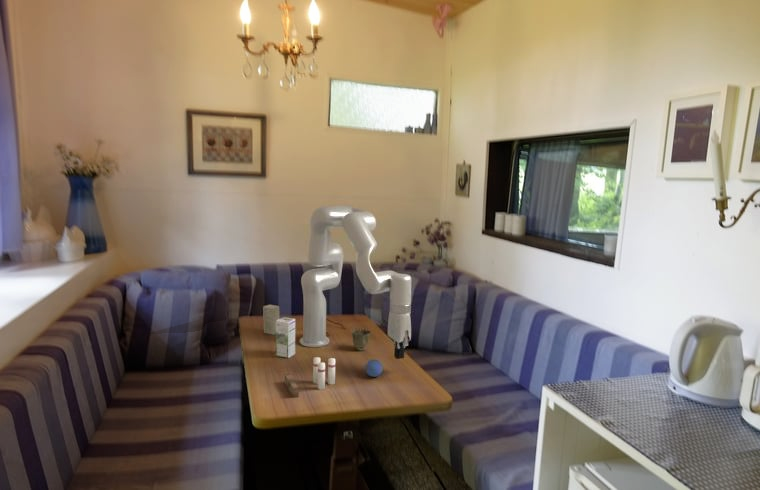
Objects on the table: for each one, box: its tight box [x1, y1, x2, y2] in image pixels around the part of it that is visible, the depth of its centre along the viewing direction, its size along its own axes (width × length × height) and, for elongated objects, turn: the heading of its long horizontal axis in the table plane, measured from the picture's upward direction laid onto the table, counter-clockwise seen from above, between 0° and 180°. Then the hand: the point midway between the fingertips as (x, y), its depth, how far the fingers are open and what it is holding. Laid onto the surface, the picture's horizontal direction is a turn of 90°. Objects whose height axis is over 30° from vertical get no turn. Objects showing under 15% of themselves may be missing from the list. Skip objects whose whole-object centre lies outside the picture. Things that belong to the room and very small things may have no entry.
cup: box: [351, 328, 371, 352], centre depth 196 cm, size 8×7×8 cm
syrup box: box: [275, 317, 296, 359], centre depth 187 cm, size 6×6×14 cm
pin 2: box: [317, 361, 326, 390], centre depth 159 cm, size 2×2×8 cm
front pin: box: [327, 357, 336, 385], centre depth 163 cm, size 2×2×8 cm
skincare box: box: [262, 304, 281, 335], centre depth 213 cm, size 6×4×12 cm
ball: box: [365, 359, 383, 378], centre depth 170 cm, size 6×6×6 cm
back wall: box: [284, 373, 300, 398], centre depth 158 cm, size 12×2×3 cm, turn 25°
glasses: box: [326, 317, 347, 337], centre depth 220 cm, size 13×13×5 cm
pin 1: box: [312, 356, 321, 385], centre depth 163 cm, size 2×2×8 cm
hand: (399, 357), depth 174 cm, fingers closed
